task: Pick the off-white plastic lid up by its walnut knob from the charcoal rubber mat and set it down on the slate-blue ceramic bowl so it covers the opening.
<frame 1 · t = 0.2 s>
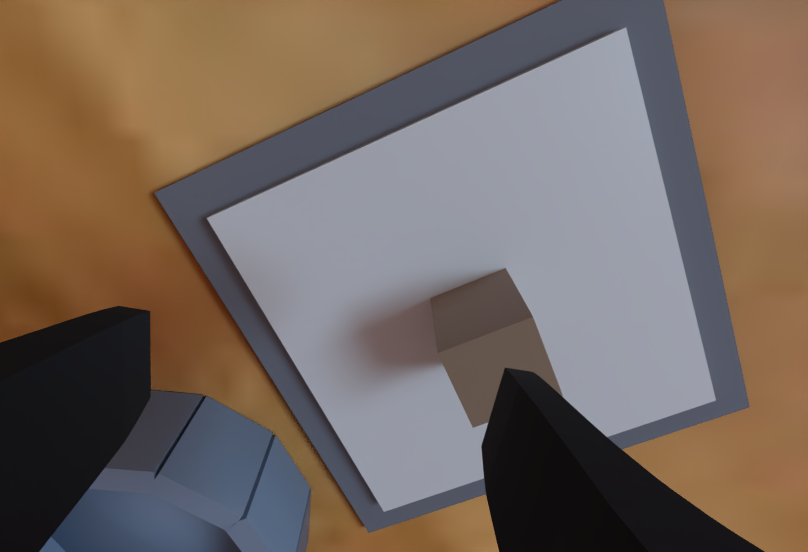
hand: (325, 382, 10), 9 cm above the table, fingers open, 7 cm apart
bowl: (172, 505, 23), on the table
lid: (479, 309, 19), resting on mat
mat: (477, 305, 20), on the table
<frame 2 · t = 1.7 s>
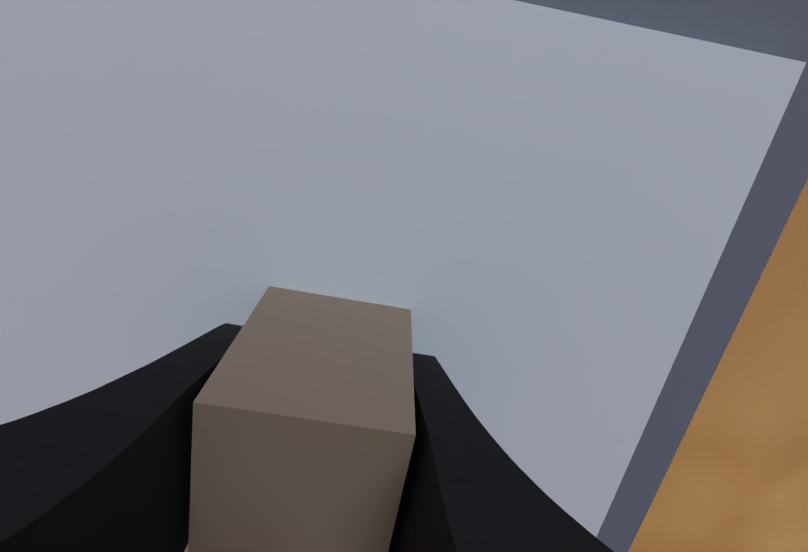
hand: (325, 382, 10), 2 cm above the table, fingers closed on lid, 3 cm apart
lid: (334, 345, 11), resting on mat, touching gripper
mat: (337, 337, 12), on the table
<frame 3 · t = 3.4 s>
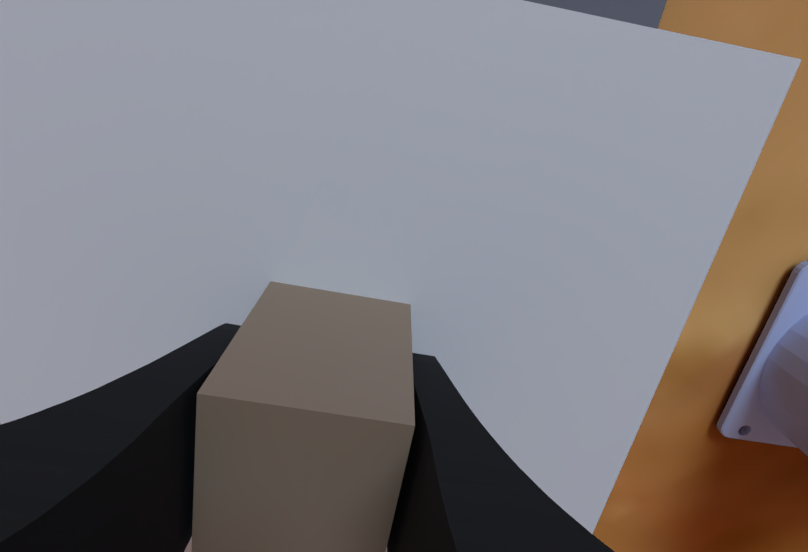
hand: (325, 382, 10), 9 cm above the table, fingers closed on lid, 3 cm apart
lid: (335, 340, 12), point 7 cm above the table, touching gripper
mat: (349, 150, 17), on the table
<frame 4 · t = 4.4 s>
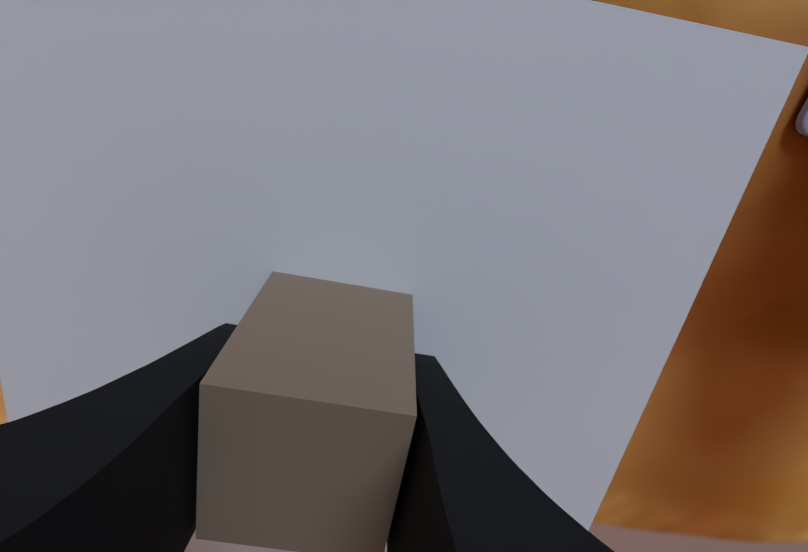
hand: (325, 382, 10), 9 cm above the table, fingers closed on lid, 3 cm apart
lid: (337, 330, 12), point 7 cm above the table, touching gripper
when the fingers open (7 cm above the table, at t = 5.1 s): lid drops 1 cm, resting on bowl.
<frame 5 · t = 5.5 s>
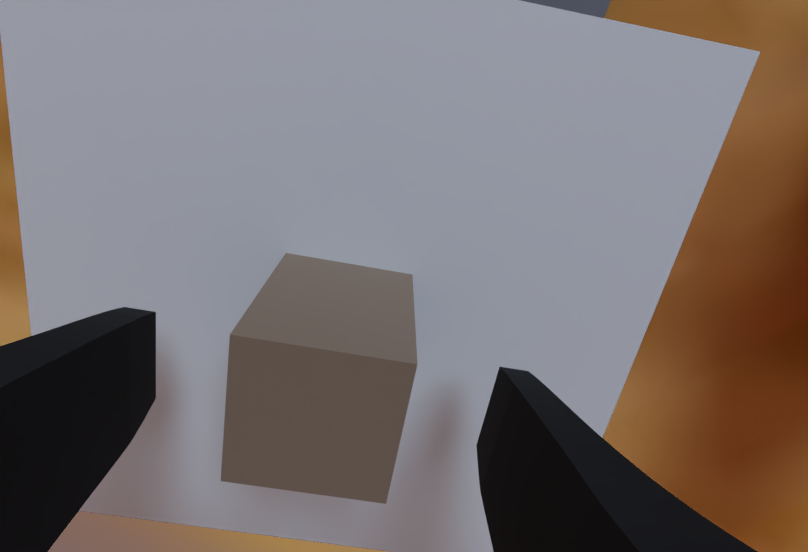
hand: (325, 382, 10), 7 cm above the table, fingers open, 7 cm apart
lid: (343, 309, 13), point 4 cm above the table, touching bowl
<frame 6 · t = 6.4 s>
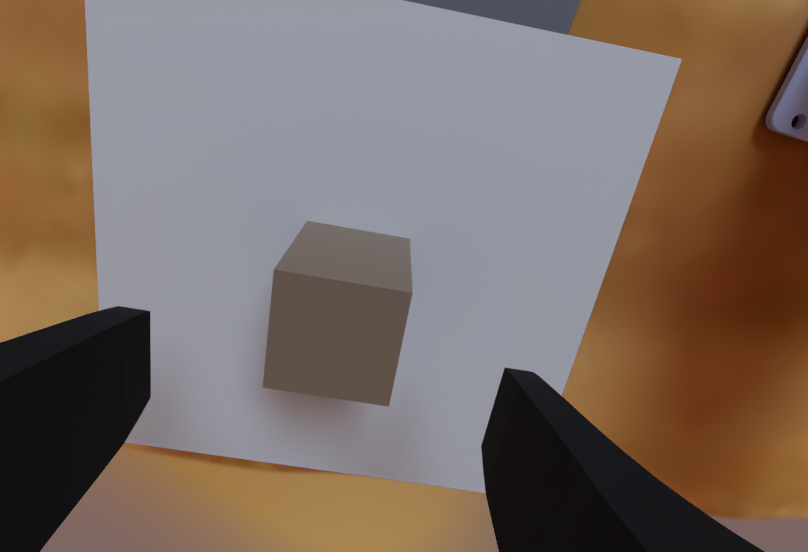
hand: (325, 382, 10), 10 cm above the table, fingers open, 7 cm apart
lid: (353, 270, 15), point 4 cm above the table, touching bowl
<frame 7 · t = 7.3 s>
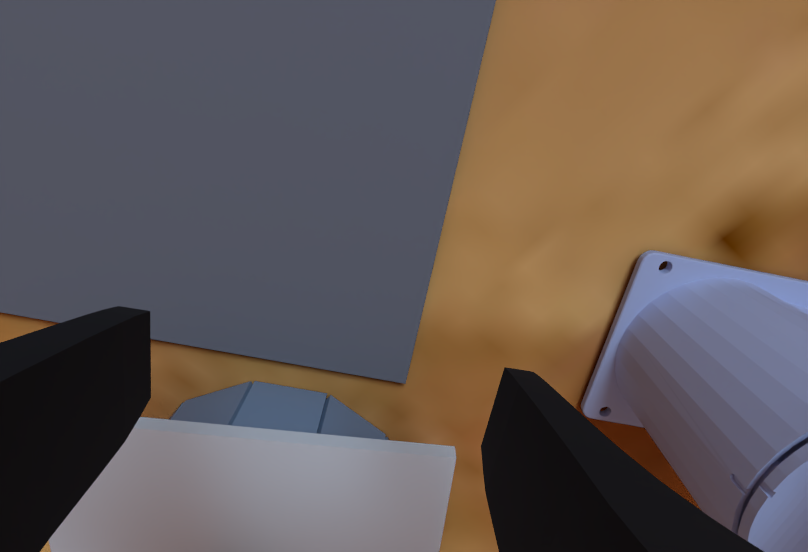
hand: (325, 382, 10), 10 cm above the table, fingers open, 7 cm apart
bowl: (276, 495, 25), on the table
mat: (216, 134, 18), on the table
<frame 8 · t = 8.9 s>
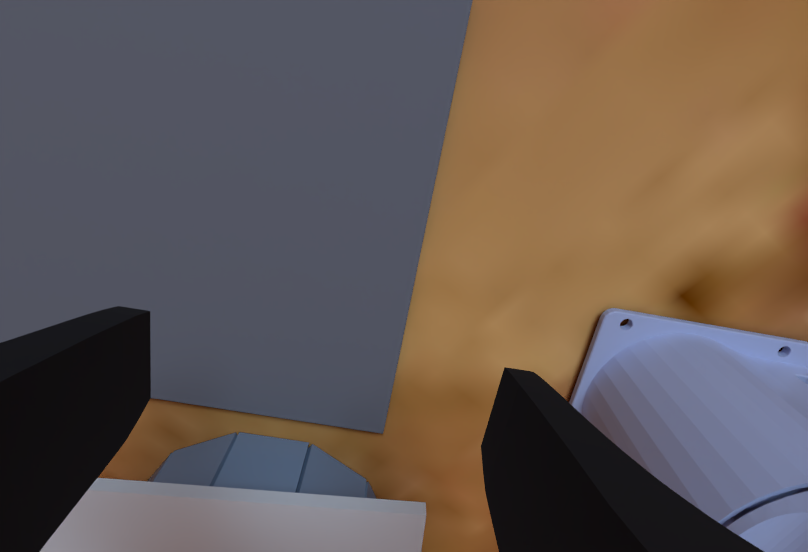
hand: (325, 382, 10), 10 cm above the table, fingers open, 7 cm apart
bowl: (263, 537, 26), on the table
mat: (196, 208, 19), on the table
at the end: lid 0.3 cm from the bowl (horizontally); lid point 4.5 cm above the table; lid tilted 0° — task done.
